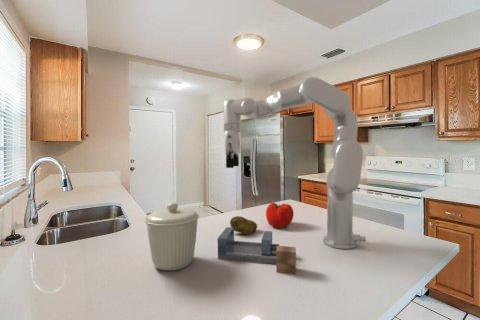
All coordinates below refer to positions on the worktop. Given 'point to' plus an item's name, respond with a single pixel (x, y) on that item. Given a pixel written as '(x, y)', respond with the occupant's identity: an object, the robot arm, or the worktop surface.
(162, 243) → the canister
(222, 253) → the vise bed
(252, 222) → the potato
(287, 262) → the walnut block
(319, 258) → the worktop surface
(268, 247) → the sliding jaw
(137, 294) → the worktop surface
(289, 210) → the tomato
